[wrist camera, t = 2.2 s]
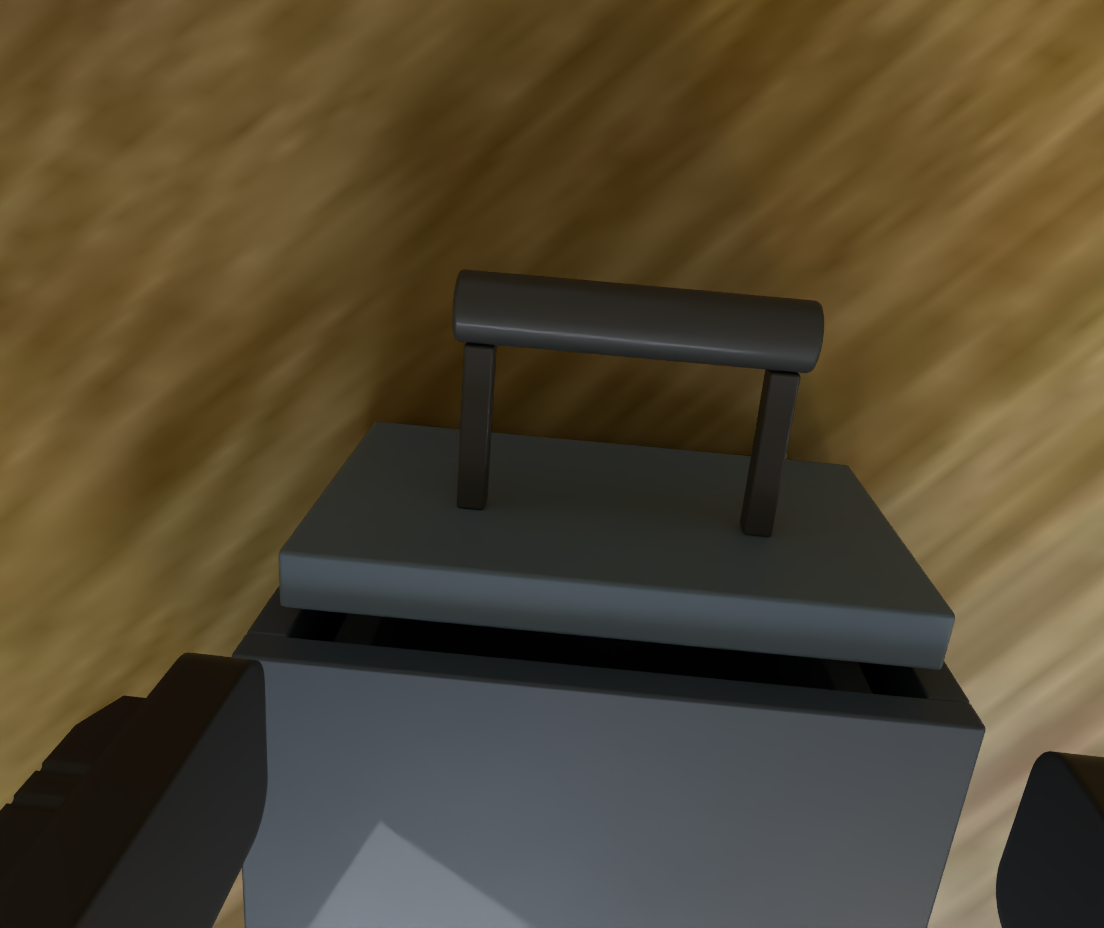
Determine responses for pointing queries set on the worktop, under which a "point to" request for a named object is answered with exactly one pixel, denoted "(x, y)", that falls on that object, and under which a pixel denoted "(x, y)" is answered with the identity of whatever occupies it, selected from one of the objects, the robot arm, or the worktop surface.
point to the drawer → (618, 515)
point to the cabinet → (593, 792)
